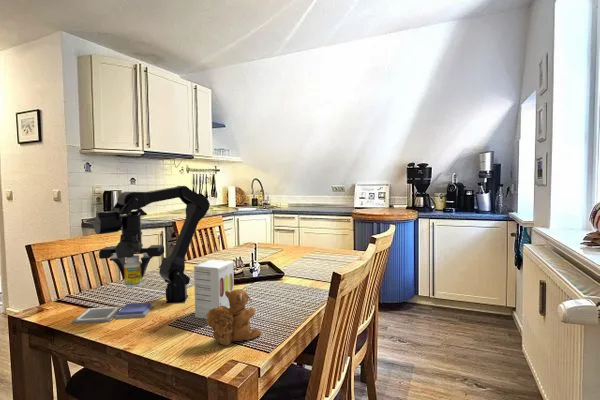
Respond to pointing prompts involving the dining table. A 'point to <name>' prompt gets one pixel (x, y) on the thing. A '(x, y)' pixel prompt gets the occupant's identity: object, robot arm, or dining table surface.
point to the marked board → (97, 315)
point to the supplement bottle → (133, 272)
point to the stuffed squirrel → (232, 319)
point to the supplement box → (212, 285)
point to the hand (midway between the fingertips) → (133, 277)
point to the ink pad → (134, 310)
